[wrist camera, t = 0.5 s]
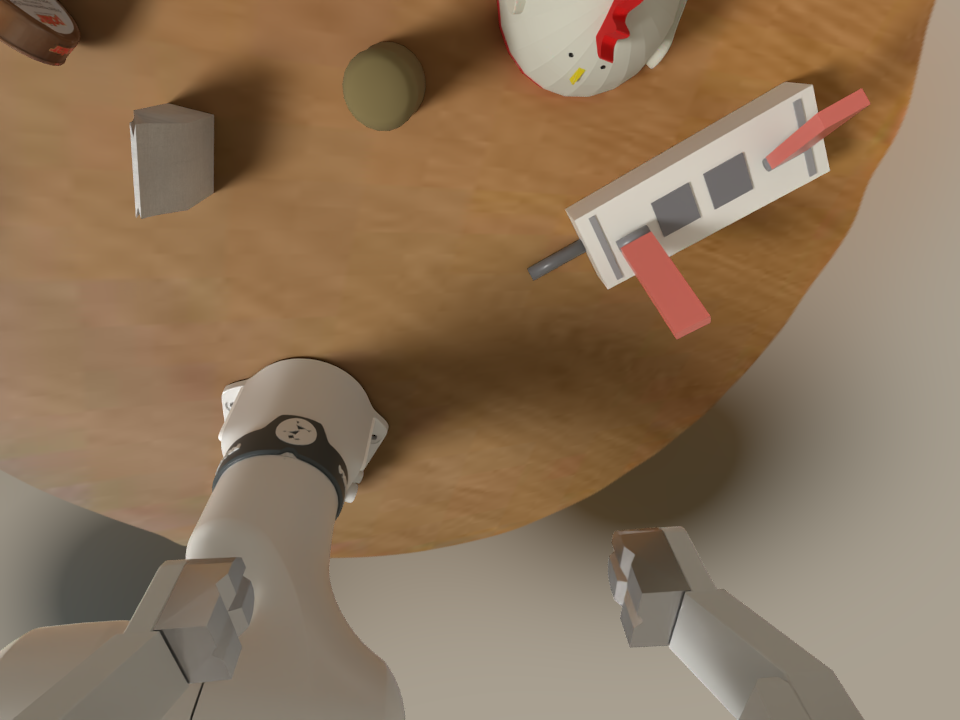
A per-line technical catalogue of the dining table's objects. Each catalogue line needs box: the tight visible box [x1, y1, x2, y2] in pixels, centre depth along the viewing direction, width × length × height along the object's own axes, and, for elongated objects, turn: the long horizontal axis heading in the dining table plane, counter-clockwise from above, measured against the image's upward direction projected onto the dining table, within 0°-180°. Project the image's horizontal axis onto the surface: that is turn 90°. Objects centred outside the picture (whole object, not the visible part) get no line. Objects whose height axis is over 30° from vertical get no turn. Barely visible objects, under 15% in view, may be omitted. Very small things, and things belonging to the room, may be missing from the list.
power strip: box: [528, 82, 830, 289], centre depth 50 cm, size 28×8×4 cm, turn 120°
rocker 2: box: [762, 88, 870, 172], centre depth 41 cm, size 3×1×11 cm, turn 120°
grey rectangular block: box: [130, 103, 214, 219], centre depth 42 cm, size 4×7×10 cm, turn 166°
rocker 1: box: [616, 225, 711, 339], centre depth 46 cm, size 3×1×11 cm
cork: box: [342, 42, 426, 131], centre depth 40 cm, size 6×6×11 cm
